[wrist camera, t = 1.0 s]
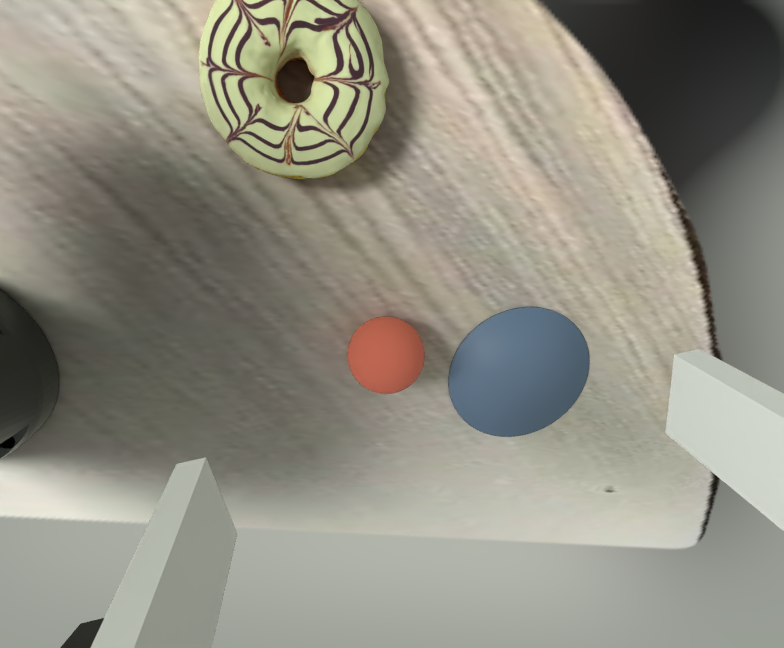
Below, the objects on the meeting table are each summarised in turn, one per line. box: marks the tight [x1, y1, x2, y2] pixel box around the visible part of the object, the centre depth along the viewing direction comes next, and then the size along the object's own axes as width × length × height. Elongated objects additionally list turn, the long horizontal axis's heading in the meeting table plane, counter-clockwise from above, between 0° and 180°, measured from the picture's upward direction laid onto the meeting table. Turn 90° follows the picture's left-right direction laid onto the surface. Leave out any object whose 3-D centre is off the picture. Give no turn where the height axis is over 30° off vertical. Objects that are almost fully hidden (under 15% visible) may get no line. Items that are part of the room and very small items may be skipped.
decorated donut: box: [199, 0, 389, 179], centre depth 25 cm, size 10×11×4 cm
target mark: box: [448, 307, 589, 437], centre depth 36 cm, size 12×12×1 cm
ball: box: [348, 317, 424, 394], centre depth 31 cm, size 6×6×6 cm
